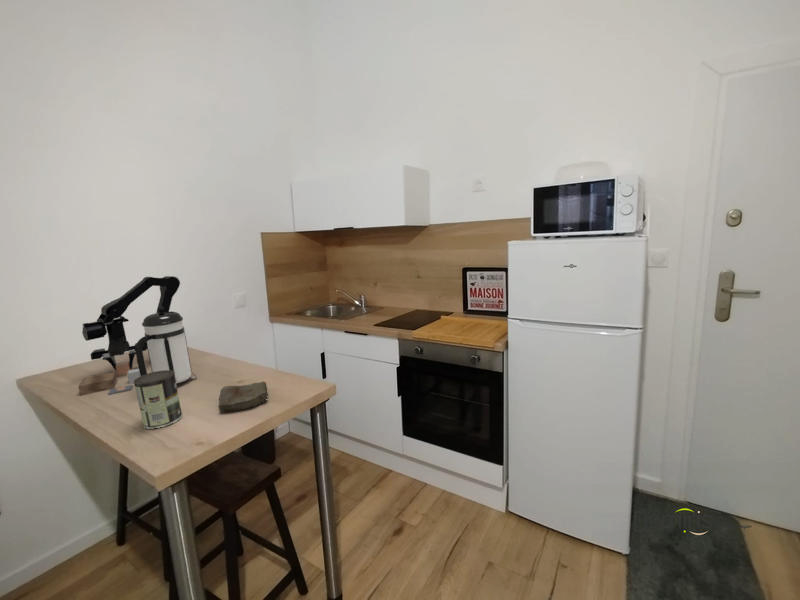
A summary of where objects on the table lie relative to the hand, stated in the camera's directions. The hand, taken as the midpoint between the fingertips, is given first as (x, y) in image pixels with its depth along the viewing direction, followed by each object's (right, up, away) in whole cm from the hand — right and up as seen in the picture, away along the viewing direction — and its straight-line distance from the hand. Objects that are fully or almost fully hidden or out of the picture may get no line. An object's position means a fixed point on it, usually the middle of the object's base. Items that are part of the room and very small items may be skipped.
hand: (124, 369), depth 160 cm
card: (+13, -4, -19) cm, 23 cm away
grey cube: (+12, -3, -10) cm, 16 cm away
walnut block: (+1, -4, -15) cm, 15 cm away
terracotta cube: (0, -2, 0) cm, 2 cm away
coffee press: (+31, -3, -17) cm, 36 cm away
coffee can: (+45, -7, -46) cm, 65 cm away
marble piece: (+65, -4, -36) cm, 74 cm away
